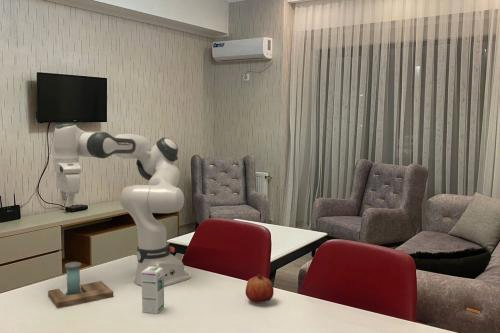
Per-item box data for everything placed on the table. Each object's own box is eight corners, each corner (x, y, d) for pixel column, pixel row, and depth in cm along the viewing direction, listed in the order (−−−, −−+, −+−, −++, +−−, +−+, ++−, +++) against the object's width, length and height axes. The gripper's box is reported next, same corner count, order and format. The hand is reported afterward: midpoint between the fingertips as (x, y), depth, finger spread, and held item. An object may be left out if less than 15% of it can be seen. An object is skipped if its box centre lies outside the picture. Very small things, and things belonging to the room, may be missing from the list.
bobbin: (79, 292, 176) (78, 261, 175) (83, 296, 172) (83, 264, 171) (63, 295, 173) (63, 263, 172) (67, 299, 169) (67, 267, 168)
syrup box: (157, 314, 157) (157, 272, 156) (141, 312, 159) (141, 270, 157) (164, 307, 163) (164, 267, 162) (148, 306, 164) (148, 265, 163)
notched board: (101, 285, 183) (101, 280, 183) (113, 296, 172) (113, 291, 172) (48, 296, 172) (47, 290, 172) (57, 308, 161) (57, 302, 161)
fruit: (279, 302, 170) (280, 275, 169) (261, 310, 162) (261, 281, 161) (257, 294, 177) (258, 268, 176) (239, 301, 169) (239, 274, 169)
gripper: (51, 164, 183) (52, 199, 185) (64, 169, 167) (65, 207, 168) (68, 164, 187) (68, 198, 188) (82, 168, 170) (83, 206, 172)
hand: (67, 202), depth 178 cm, fingers open, 8 cm apart
